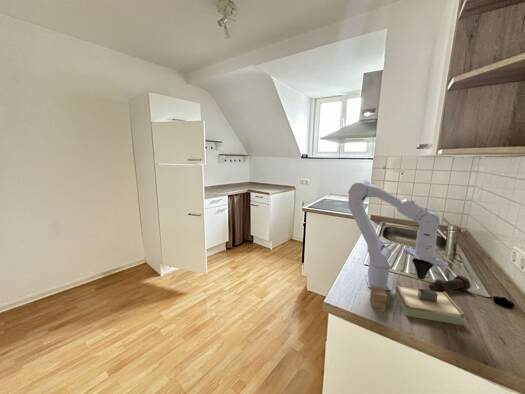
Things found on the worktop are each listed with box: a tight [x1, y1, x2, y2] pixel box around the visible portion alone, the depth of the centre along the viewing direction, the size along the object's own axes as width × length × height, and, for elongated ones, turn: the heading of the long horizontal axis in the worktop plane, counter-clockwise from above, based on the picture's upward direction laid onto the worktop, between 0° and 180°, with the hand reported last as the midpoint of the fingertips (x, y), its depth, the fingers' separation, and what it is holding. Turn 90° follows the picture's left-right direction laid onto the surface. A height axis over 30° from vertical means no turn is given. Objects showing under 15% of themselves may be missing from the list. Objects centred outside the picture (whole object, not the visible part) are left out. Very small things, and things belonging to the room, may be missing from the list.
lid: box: [399, 286, 461, 318], centre depth 77 cm, size 12×14×4 cm
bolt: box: [428, 274, 471, 293], centre depth 89 cm, size 6×5×15 cm
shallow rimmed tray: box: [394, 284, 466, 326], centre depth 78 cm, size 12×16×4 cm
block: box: [369, 286, 388, 312], centre depth 79 cm, size 5×4×6 cm
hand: (421, 278), depth 83 cm, fingers closed
